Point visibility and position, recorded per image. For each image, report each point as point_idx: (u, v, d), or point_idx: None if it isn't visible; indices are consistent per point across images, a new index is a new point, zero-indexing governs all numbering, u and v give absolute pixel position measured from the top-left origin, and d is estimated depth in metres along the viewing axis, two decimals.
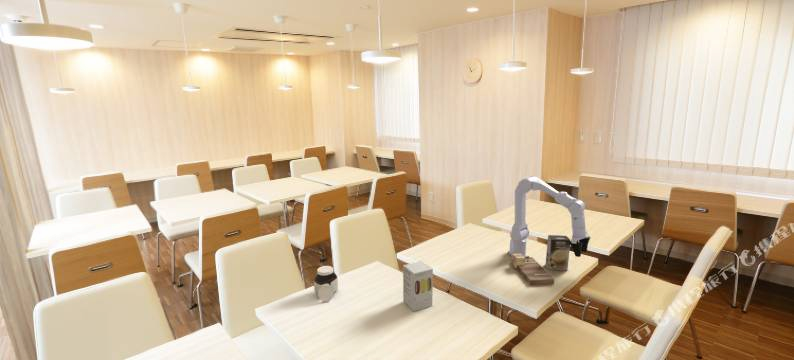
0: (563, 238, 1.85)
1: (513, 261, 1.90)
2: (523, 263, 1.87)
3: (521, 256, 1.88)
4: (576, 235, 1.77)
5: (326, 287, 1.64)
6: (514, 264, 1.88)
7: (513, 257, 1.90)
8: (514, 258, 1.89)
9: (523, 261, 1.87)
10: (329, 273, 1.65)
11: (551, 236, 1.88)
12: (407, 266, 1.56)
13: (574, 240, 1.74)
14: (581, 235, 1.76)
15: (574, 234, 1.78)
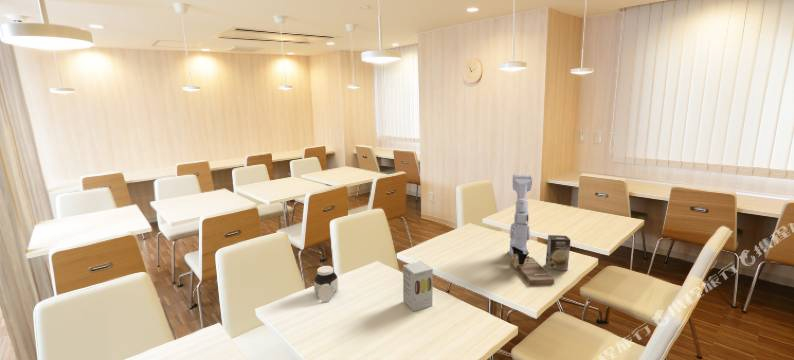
0: (563, 238, 1.85)
1: (513, 261, 1.90)
2: None
3: None
4: None
5: (326, 287, 1.64)
6: (514, 264, 1.88)
7: (513, 257, 1.90)
8: (514, 258, 1.89)
9: None
10: (329, 273, 1.65)
11: (551, 236, 1.88)
12: (407, 266, 1.56)
13: None
14: None
15: None
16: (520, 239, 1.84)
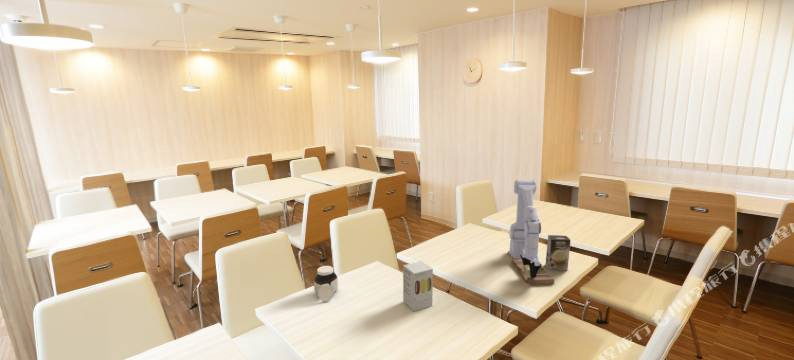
0: (563, 238, 1.85)
1: (524, 273, 1.77)
2: None
3: None
4: None
5: (326, 287, 1.64)
6: (525, 276, 1.76)
7: (523, 269, 1.77)
8: (524, 270, 1.76)
9: None
10: (329, 273, 1.65)
11: (551, 236, 1.88)
12: (407, 266, 1.56)
13: None
14: None
15: None
16: (531, 249, 1.71)
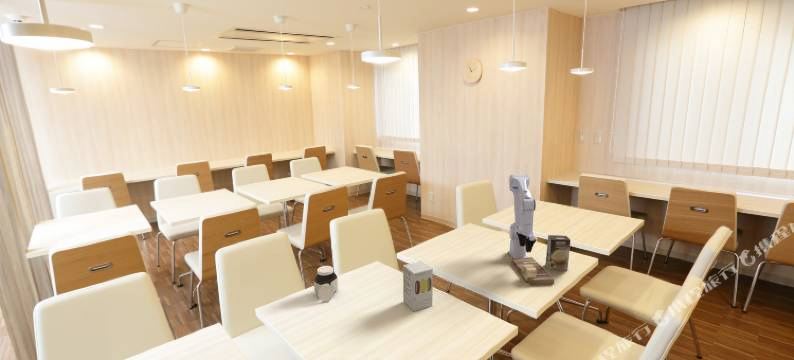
0: (563, 238, 1.85)
1: (524, 273, 1.77)
2: (534, 275, 1.75)
3: (532, 268, 1.75)
4: None
5: (326, 287, 1.64)
6: (525, 276, 1.76)
7: (523, 269, 1.77)
8: (524, 270, 1.76)
9: (534, 273, 1.74)
10: (329, 273, 1.65)
11: (551, 236, 1.88)
12: (407, 266, 1.56)
13: None
14: None
15: None
16: (526, 225, 1.82)
